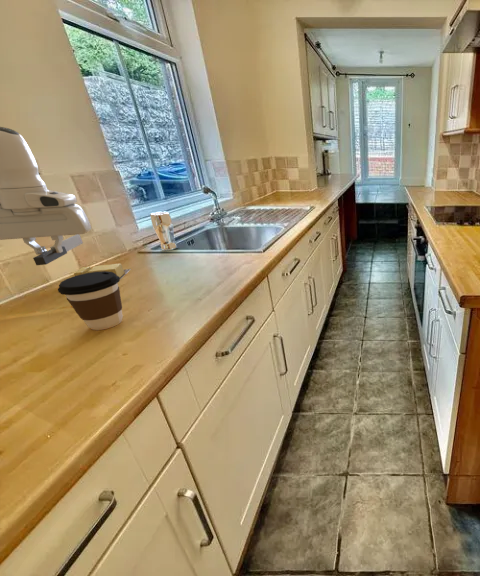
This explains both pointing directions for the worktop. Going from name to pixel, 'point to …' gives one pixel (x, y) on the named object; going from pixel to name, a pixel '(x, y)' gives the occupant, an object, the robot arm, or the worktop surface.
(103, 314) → the coffee cup
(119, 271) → the butter block
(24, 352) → the worktop surface
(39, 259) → the knife
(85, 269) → the butter slice
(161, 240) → the beer glass
